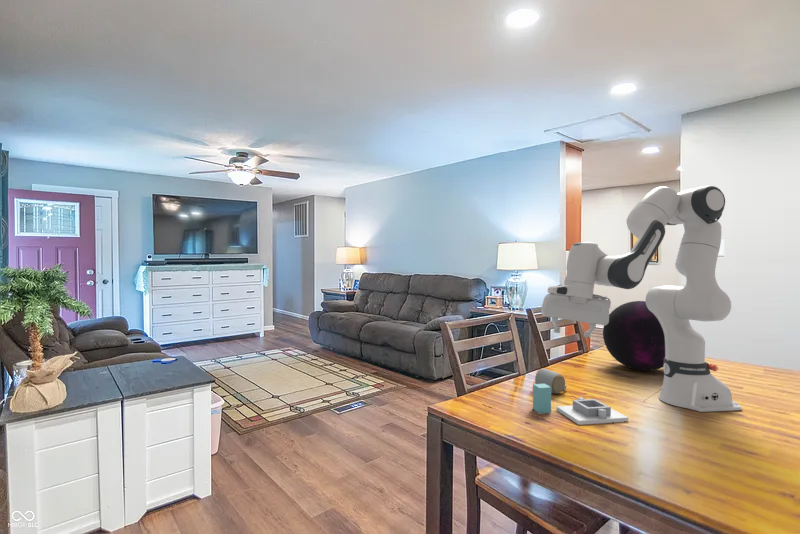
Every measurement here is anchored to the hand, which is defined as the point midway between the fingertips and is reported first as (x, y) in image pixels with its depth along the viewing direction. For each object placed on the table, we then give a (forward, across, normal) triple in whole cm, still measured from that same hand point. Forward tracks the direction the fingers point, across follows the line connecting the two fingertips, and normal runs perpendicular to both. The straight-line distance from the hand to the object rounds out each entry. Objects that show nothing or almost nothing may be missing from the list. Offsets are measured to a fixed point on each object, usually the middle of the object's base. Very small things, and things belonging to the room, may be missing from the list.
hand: (571, 335), depth 132 cm
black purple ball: (+15, -50, -55) cm, 76 cm away
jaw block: (+25, +6, 0) cm, 26 cm away
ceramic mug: (+23, -3, -21) cm, 31 cm away
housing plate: (+23, -8, +3) cm, 25 cm away
